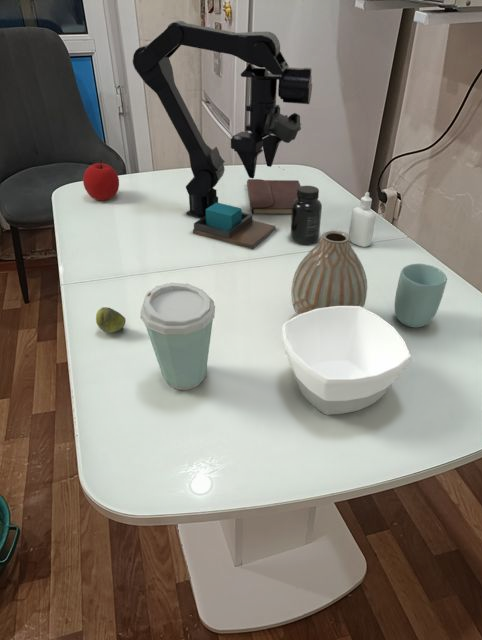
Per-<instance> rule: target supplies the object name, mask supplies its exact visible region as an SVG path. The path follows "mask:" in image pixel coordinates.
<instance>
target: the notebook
mask: <svg viewBox="0 0 482 640" xmlns="http://www.w3.org/2000/svg"><path fill="white" fill-rule="evenodd" d="M246 185H247V193H248V199H249V207H250V214H252V215H291V214H292V203H293V201H294V200H295V199H297V189H298V188H299V187H301V186H302V185H301V183H300V181H299V180H296V179H293V180H292V179H291V180H290V179H261V178H247V181H246Z"/></svg>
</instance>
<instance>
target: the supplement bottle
mask: <svg viewBox="0 0 482 640" xmlns="http://www.w3.org/2000/svg"><path fill="white" fill-rule="evenodd" d="M300 186H301V187H299V188H298V189H297V199H295V200H294V201H293V203H292V214H290V215H291V216H290V235H289V236H290V239H291V240H292V241H293V242H294V243H296V244H300V245H312V244H315V243H317V242H318V241H319V239H320V234H321V233H320V232H321V221H322V209H323V205H322V202H321V200H319V195H320V190H319V188H318V187H316V186H314V185H300Z"/></svg>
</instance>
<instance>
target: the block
mask: <svg viewBox="0 0 482 640" xmlns="http://www.w3.org/2000/svg"><path fill="white" fill-rule="evenodd" d="M242 212H243V208H241V207H238V206H233V205H230V204H226V203H221V202H218V203H217V202H216V203H215V204H213V205H212V206H210V207H209V208H207V209H206V225H208V226H212V227H215V228H219V229H223V230H227V231H228V230H230V229H231V228H232V227H234V226H235V225H236V224H238V223H239V222H240V221H242Z"/></svg>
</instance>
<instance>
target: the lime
mask: <svg viewBox="0 0 482 640" xmlns="http://www.w3.org/2000/svg"><path fill="white" fill-rule="evenodd" d="M126 322H127V320H126V317H125V316H123V314H121V313H120V312H119V311H117V310H115V309H113V308H111V307H108V306H107V307H100V308H99V309H98V310H97V311H96V315H95V323H96V325H97V327H98V328H99V329H100V330H101V331H103V332H104V333H115V332H118V331H120V330H122V329H123V328H124V327H125V325H126Z"/></svg>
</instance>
